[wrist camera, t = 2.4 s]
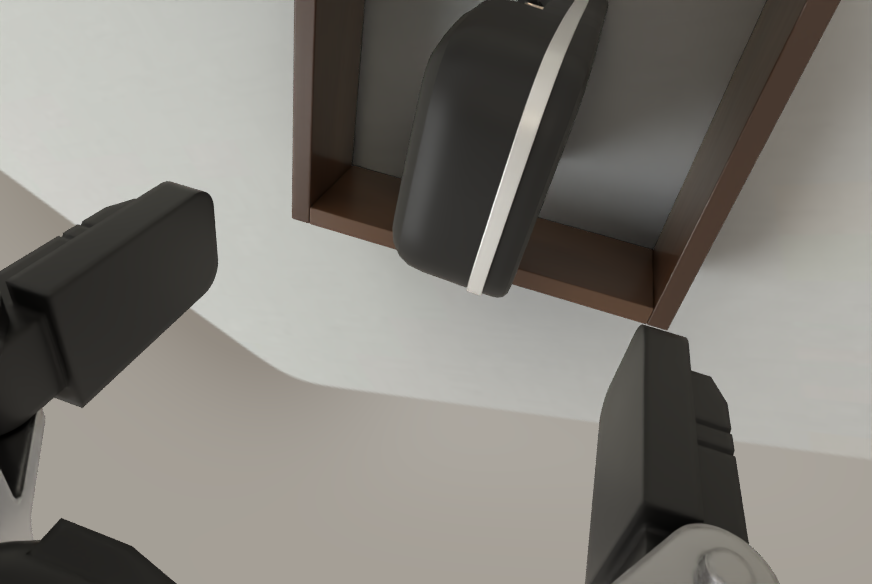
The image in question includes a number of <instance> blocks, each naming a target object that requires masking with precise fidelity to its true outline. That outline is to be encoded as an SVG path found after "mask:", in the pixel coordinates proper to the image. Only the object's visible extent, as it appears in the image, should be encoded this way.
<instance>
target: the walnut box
mask: <svg viewBox="0 0 872 584" xmlns="http://www.w3.org/2000/svg"><path fill="white" fill-rule="evenodd" d="M840 1H841V0H767V1H766V4H765V6H764V8H763V10H762V12H761V15H760V17H759V19H758V21H757V23H756V26H755V28H754V30H753V32H752V34H751V36H750V39H749V41H748V43H747V45H746V47H745V50H744V52H743V54H742V56H741V58H740V61H739V63H738V65H737V67H736V69H735V72H734V74H733V76H732V78H731V80H730V83H729V85H728V87H727V89H726V91H725V93H724V96H723V98H722V100H721V102H720V104H719V107H718V109H717V111H716V113H715V115H714V118H713V120H712V122H711V124H710V126H709V129H708V131H707V133H706V135H705V137H704V140H703V142H702V144H701V146H700V148H699V151H698V153H697V155H696V157H695V159H694V161H693V164H692V166H691V168H690V170H689V172H688V175H687V177H686V179H685V181H684V183H683V186H682V188H681V190H680V192H679V194H678V197H677V199H676V201H675V203H674V205H673V208H672V210H671V212H670V214H669V216H668V218H667V221H666V223H665V225H664V227H663V229H662V232H661V234H660V236H659V238H658V240H657V243H656V245H655V247H654V249H653V250H652V249H649V248H645V247H642V246H638V245H634V244H631V243H627V242H624V241H620V240H617V239H613V238H610V237H606V236H602V235H599V234H595V233H592V232H588V231H585V230H581V229H578V228H574V227H570V226H567V225H563V224H560V223H556V222H553V221H549V220H546V219H542V218H539V217H538V218H537V220H536V223H535V226H534V228H533V231H532V233H531V236H530V239H529V241H528V244H527V247H526V249H525V252H524V254H523V257H522V260H521V262H520V265H519V268H518V270H517V273H516V275H515V278H514V280H513V283H512V284H513V285H517V286H520V287H524V288H527V289H530V290H534V291H537V292H540V293H544V294H547V295H550V296H554V297H557V298H560V299H564V300H567V301H570V302H574V303H577V304H580V305H584V306H587V307H591V308H594V309H597V310H601V311H604V312H607V313H611V314H614V315H617V316H621V317H624V318H627V319H631V320H634V321H637V322H641V323H644V324H646V323H647V324H648V325H651V326H654V327H657V328H661V329H664V330H668V328H669V326H670V324H671V322H672V320H673V319H674V317H675V315H676V313H677V311H678V309H679V307H680V305H681V303H682V301H683V300H684V298H685V296H686V294H687V292H688V290H689V288H690V286H691V284H692V282H693V281H694V279H695V277H696V275H697V273H698V271H699V269H700V267H701V265H702V263H703V261H704V260H705V258H706V256H707V254H708V252H709V250H710V248H711V246H712V244H713V242H714V241H715V239H716V237H717V235H718V233H719V231H720V229H721V227H722V225H723V223H724V222H725V220H726V218H727V216H728V214H729V212H730V210H731V208H732V206H733V204H734V202H735V201H736V199H737V197H738V195H739V193H740V191H741V189H742V187H743V185H744V183H745V182H746V180H747V178H748V176H749V174H750V172H751V170H752V168H753V166H754V164H755V163H756V161H757V159H758V157H759V155H760V153H761V151H762V149H763V147H764V145H765V144H766V142H767V140H768V138H769V136H770V134H771V132H772V130H773V128H774V126H775V124H776V123H777V121H778V119H779V117H780V115H781V113H782V111H783V109H784V107H785V105H786V104H787V102H788V100H789V98H790V96H791V94H792V92H793V90H794V88H795V86H796V85H797V83H798V81H799V79H800V77H801V75H802V73H803V71H804V69H805V67H806V65H807V64H808V62H809V60H810V58H811V56H812V54H813V52H814V50H815V48H816V46H817V45H818V43H819V41H820V39H821V37H822V35H823V33H824V31H825V29H826V27H827V26H828V24H829V22H830V20H831V18H832V16H833V14H834V12H835V10H836V8H837V6H838V5H839V3H840ZM364 4H365V0H294V80H293V168H292V218H293V219H296V220H299V221H303V222H306V223H310V224H312V225H316V226H319V227H322V228H326V229H329V230H332V231H336V232H339V233H343V234H346V235H349V236H353V237H356V238H359V239H363V240H366V241H369V242H373V243H376V244H379V245H383V246H386V247H389V248H393V249H396V247H395V245H394V243H393V230H392V228H393V221H394V215H395V210H396V205H397V200H398V195H399V190H400V185H401V180H402V179H400V178H396V177H393V176H389V175H386V174H382V173H379V172H375V171H372V170H368V169H364V168H361V167H357V166H354V165H353V166H352V159H353V146H354V133H355V121H356V108H357V95H358V82H359V69H360V56H361V43H362V30H363V17H364ZM396 250H397V249H396Z"/></svg>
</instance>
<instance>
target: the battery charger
mask: <svg viewBox="0 0 872 584" xmlns="http://www.w3.org/2000/svg"><path fill="white" fill-rule="evenodd" d="M607 8H608V0H518V1H517V2H516V1H510V0H486V1H483V2H482V3H481V4H479V5H478V6H477V7H475V8H474V9H472V10H471V11H469V12H468V13H466V14H464V15H463V16H462V17H461V18H460V19H459V20H458V21H457V22H456V23H455V24H454V25H453V26H452V27H451V28H450V29H449V31H448V32H447V33H446V34H445V35H444V37H443V38H442V40H441V41H440V43H439V44H438V45H437V47H436V48H435V50H434V51H433V52H432V54H431V56H430V58H429V61H428V63H427V66H426V69H425V73H424V77H423V80H422V85H421V89H420V94H419V98H418V103H417V108H416V113H415V117H414V122H413V127H412V132H411V136H410V141H409V146H408V151H407V155H406V160H405V165H404V170H403V175H402V180H401V185H400V190H399V195H398V200H397V205H396V210H395V215H394V221H393V228H392V230H393V243H394V245H395V247H396V249H397V252H398V254H399V256H400V257H401V258H402V259H403V260H404V261H405V262H406V263H407V264H408V265H410V266H412V267H414V268H416V269H418V270H420V271H422V272H425V273H427V274H430V275H433V276H436V277H439V278H441V279H444V280H447V281H450V282H453V283H455V284H458V285H461V286H464V287H467V291H468V292H471V293H474V294H477V295H479V296H481V295H482V293H483V294H486V295H489V296H492V297H497V298H498V297H503V296H504V295H506V294H507V293H508V291H509V289H510V287H511V285H512V283H513V280H514V278H515V275H516V273H517V270H518V268H519V265H520V262H521V260H522V257H523V254H524V252H525V249H526V247H527V244H528V241H529V239H530V236H531V233H532V231H533V228H534V226H535V223H536V220H537V218H538V215H539V213H540V210H541V207H542V205H543V202H544V199H545V197H546V194H547V192H548V189H549V186H550V184H551V181H552V178H553V176H554V173H555V170H556V168H557V165H558V163H559V160H560V157H561V155H562V152H563V149H564V147H565V144H566V141H567V139H568V136H569V134H570V131H571V128H572V125H573V123H574V120H575V117H576V115H577V112H578V109H579V106H580V103H581V100H582V98H583V95H584V92H585V89H586V86H587V82H588V79H589V76H590V72H591V69H592V65H593V62H594V58H595V54H596V51H597V47H598V43H599V39H600V35H601V31H602V26H603V23H604V19H605V16H606V12H607Z"/></svg>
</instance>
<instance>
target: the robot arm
mask: <svg viewBox="0 0 872 584" xmlns="http://www.w3.org/2000/svg"><path fill="white" fill-rule="evenodd" d="M217 268H218V255H217V242H216V229H215V216H214V205H213V201H212V198H211V196H210V195H209V194H208V193H207V192H204V191H200V190H197V189H194V188H190V187H187V186H184V185H180V184H177V183H174V182H170V181H166V182H163V183H161V184H159V185H158V186H156V187H155V188H153V189H151V190H150V191H148V192H147V193H145V194H143V195H142V196H140V197H139V198H137V199H132V200H128V201H125V202H122V203H119V204H115V205H112V206H109V207H106V208H104V209H102V210H100V211H99V212H97V213H95V214H94V215H92V216H90V217H89V218H87V219H86V220H84V221H82V224H81V225H78V224H77V225H76V226H74V227H72V228H71V229H69V230H67V231H66V232H64V233H63V236H62V237H60V236H58V237H56V238H54V239H52V240H51V241H49V242H47V243H46V244H44V245H43V246H41V247H39V248H38V249H36V250H34V251H33V252H31V253H29V254H28V255H26V256H24V257H23V258H21V259H19V260H18V261H16V262H14V263H13V264H11V265H9V266H8V267H6V268H4V269H3V270H1V271H0V584H176V583H175V582H174V581H173V580H171V579H170V578H169V577H168V576H167V575H165V574H164V573H163V572H162V571H161V570H160V569H158V568H157V567H156V566H155V565H154V564H152V563H151V562H150V561H149V560H148V559H146V558H145V557H144V556H143V555H142V554H140V553H139V552H138V551H137V550H136V549H135V548H133V547H132V546H130V545H128V544H125V543H123V542H120V541H118V540H115V539H113V538H110V537H108V536H105V535H103V534H100V533H98V532H95V531H93V530H90V529H87V528H85V527H82V526H80V525H77V524H75V523H72V522H70V521H67V520H64V519H62V518H61V519H60V520H59V521H58V522H57V523H56V524H55V525H54V526H53V528H52V529H51V530H50V531H49V532H48V533H47V534H46V535H45V536H44V537H43V538H42V539H41V540H33V534H32V527H31V512H32V504H33V498H34V492H35V485H36V478H37V472H38V465H39V459H40V452H41V445H42V439H43V432H44V426H45V415H44V412H43V409H42V407H44V406H45V405H46V404H47V403H48V402H49V401H50V400H51V399H53V398H57V399H60V400H63V401H65V402H68V403H70V404H73V405H76V406H79V407H81V408H83V407H84V406H85V405H86V404H87V403H88V402H89V401H90V400H92V398H94V397H95V396H96V395H97V394H98V393H99V392H100V391H101V390H102V389H103V388H104V387H105V386H106V385H108V384H109V383H110V382H111V381H112V380H113V379H114V378H115V377H116V376H117V375H118V374H119V373H120V372H121V371H123V370H124V369H125V368H126V367H127V366H128V365H129V364H130V363H131V362H132V361H133V360H134V359H135V358H136V357H138V355H140V354H141V353H142V352H143V351H144V350H145V349H146V348H147V347H148V346H149V345H150V344H151V343H152V342H154V341H155V340H156V339H157V338H158V337H159V336H160V335H161V334H162V333H163V332H164V331H165V330H166V329H167V328H169V327H170V326H171V325H172V324H173V323H174V322H175V321H176V320H177V319H178V318H179V317H180V316H181V315H182V314H183V313H184V312H186V311H187V310H188V309H189V308H190V307H191V306H192V305H193V304H194V303H195V302H196V301H197V300H198V299H200V298H201V297H202V296H203V295H204V294H205V293H206V292H207V291H208V289H209V288H210V287H211V285H212V283H213V281H214V279H215V276H216V273H217ZM730 431H731V424H730V418H729V411H728V405H727V402H726V400H725V399H724V397H723V396H722V394H721V392H720V391H719V389H718V388H717V386H716V384H715V383H714V381H713V379H712V378H711V377H710V376H707V375H703V374H700V373H697V372H694V371H691V364H690V353H689V343H688V339H687V338H686V337H683V336H679V335H676V334H673V333H669V332H666V331H663V330H659V329H656V328H653V327H649V326H646V325H640V326H639V327H638V329H637V330H636V332H635V334H634V336H633V338H632V340H631V342H630V345H629V347H628V349H627V351H626V353H625V355H624V357H623V359H622V361H621V363H620V365H619V367H618V370H617V372H616V374H615V376H614V378H613V380H612V382H611V384H610V386H609V389H608V391H607V394H606V397H605V400H604V403H603V407H602V411H601V416H600V422H599V434H598V445H597V456H596V467H595V479H594V490H593V501H592V512H591V524H590V535H589V546H588V557H587V569H586V581H585V584H780V583H779V581H778V579H777V577H776V575H775V574H774V572H773V571H772V569H771V568H770V566H769V565H768V564H767V562H766V561H765V560H764V559H763V557H761V555H760V554H758V552H757V551H755V550H754V548H752V547H751V546H750V545H749V542H748V536H747V529H746V523H745V516H744V510H743V504H742V497H741V490H740V484H739V477H738V470H737V464H736V458H735V456H733V454H734V445H733V438H732V434H730Z"/></svg>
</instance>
